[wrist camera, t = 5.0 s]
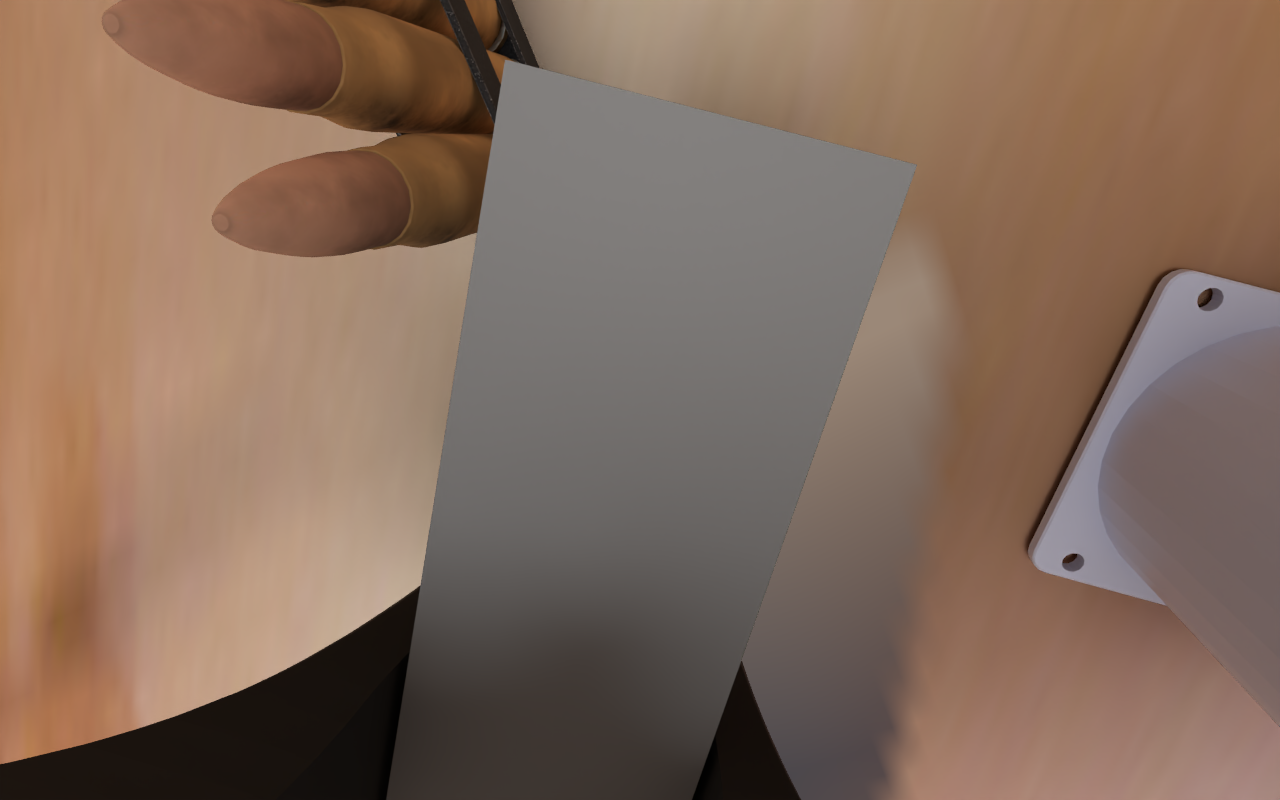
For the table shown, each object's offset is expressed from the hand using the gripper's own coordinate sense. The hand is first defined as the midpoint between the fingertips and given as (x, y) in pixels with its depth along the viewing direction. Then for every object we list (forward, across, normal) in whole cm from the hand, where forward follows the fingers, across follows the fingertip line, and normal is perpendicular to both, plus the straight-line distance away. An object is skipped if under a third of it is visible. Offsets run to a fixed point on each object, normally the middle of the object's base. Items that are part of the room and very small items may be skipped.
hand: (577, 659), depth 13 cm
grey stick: (+2, 0, 0) cm, 2 cm away
